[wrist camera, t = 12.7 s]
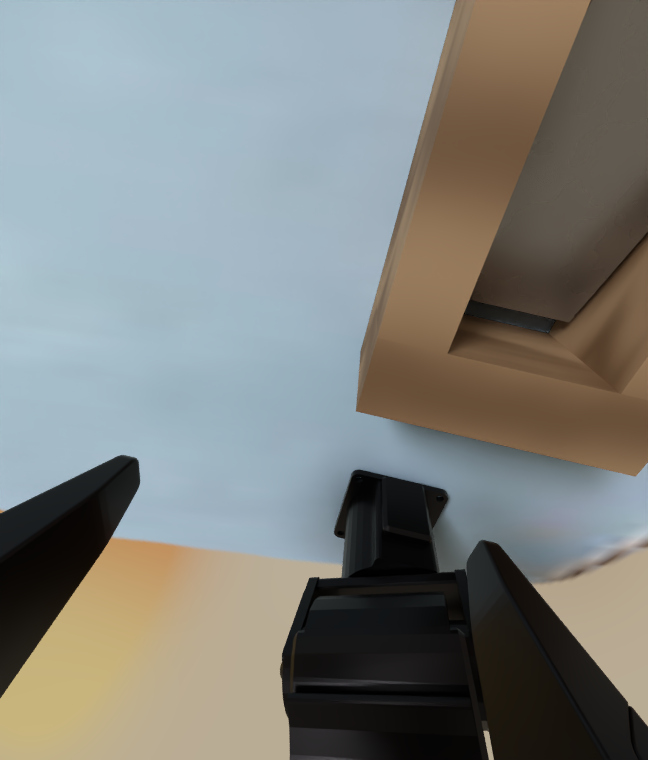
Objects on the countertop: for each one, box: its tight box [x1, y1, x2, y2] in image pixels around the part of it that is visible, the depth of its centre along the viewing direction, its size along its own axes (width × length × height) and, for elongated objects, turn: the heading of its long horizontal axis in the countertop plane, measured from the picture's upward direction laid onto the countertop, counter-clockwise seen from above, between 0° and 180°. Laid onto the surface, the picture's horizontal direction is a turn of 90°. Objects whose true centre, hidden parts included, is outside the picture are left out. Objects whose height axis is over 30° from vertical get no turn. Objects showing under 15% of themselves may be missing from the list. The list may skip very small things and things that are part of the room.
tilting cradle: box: [469, 0, 648, 322], centre depth 12 cm, size 11×6×1 cm, turn 169°
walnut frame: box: [356, 0, 648, 476], centre depth 13 cm, size 19×12×6 cm, turn 169°
